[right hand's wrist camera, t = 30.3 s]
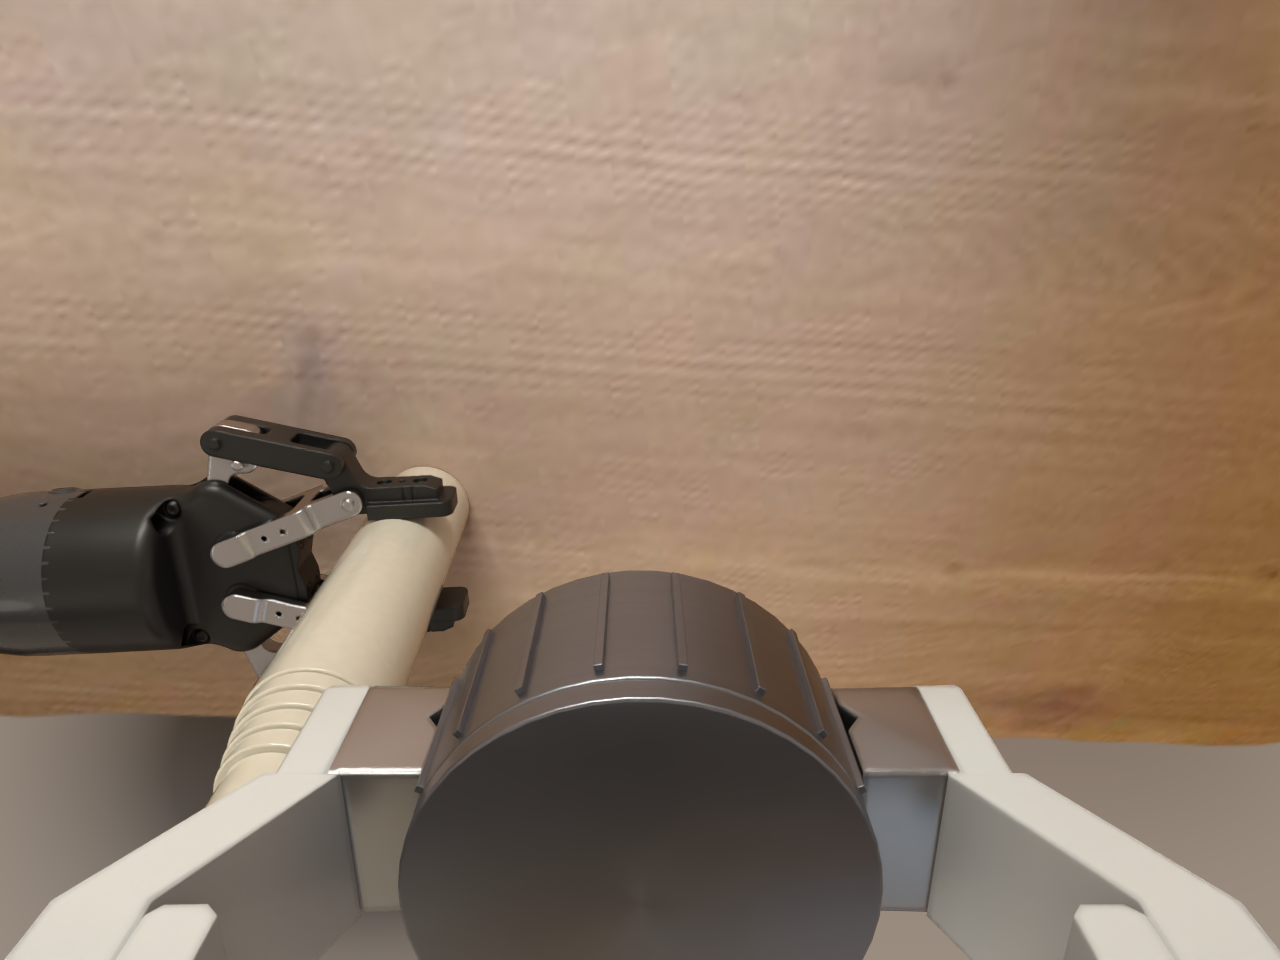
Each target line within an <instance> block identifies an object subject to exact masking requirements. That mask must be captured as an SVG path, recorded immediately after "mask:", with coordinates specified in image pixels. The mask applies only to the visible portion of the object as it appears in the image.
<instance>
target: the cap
mask: <svg viewBox="0 0 1280 960" xmlns="http://www.w3.org/2000/svg"><path fill="white" fill-rule="evenodd" d="M414 792H416V793H419V794H420V795H419V798H418V801H417V804H416V807H415V810H414V813H413V817H412V819H411V822H410V825H409V828H408V831H407V834H406V836H405V840H404V844H403V849H402V853H401V857H400V862H399V877H398V892H399V901H400V910H401V915H402V918H403V922H404V926H405V929H406V933H407V936H408V939H409V941H410V943H411V945H412V947H413V949H414V952H415V954H416V956H417V958H418V960H863V958H864V956H865V954H866V952H867V950H868V948H869V946H870V944H871V942H872V939H873V936H874V933H875V929H876V926H877V923H878V920H879V916H880V910H881V902H882V895H883V871H882V862H881V857H880V852H879V847H878V842H877V839H876V836H875V833H874V830H873V827H872V825H871V822H870V819H869V816H868V813H867V810H866V807H865V804H864V801H863V798H862V795H861V794H862V793H865V792H867V790H866V787H865V784H864V782H863V779H862V776H861V773H860V770H859V767H858V765H857V762H856V759H855V756H854V753H853V750H852V748H851V745H850V742H849V739H848V736H847V734H846V731H845V728H844V725H843V722H842V719H841V717H840V714H839V711H838V708H837V705H836V702H835V700H834V697H833V694H832V691H831V688H830V685H829V683H828V680H827V678H826V677H825V678H823V679H821V678H820V675H819V672H818V670H817V668H816V667H815V665H814V663H813V662H812V660H811V658H810V656H809V655H808V653H807V651H806V650H805V649H804V647H803V646H802V645H801V644H800V642H799V640H798V637H797V634H796V632H795V631H794V630H793V629H790V630H788V629H787V628H786V627H785V626H784V625H783V624H782V623H781V622H780V621H779V620H778V619H777V618H776V617H775V616H773V615H772V614H770V613H769V612H768V611H766V610H765V609H763V608H762V607H761V606H759V605H758V604H757V603H755V602H753V601H751V600H750V599H748V598H746V597H745V595H744V594H742V593H740V592H738V593H737V592H735V591H733V590H731V589H728V588H725V587H723V586H720V585H718V584H715V583H712V582H710V581H707V580H703V579H699V578H695V577H691V576H687V575H683V574H679V573H673V572H672V573H669V572H661V571H621V572H612V573H609V572H608V573H602V574H599V575H594V576H590V577H586V578H581V579H577V580H574V581H572V582H569V583H566V584H563V585H561V586H558V587H555V588H552V589H550V590H549V591H547V592H545V593H543V592H541V593H539V594H537V595H536V597H535V598H533V599H531V600H529V601H528V602H526V603H525V604H523V605H522V606H520V607H519V608H517V609H516V610H515V611H513V612H512V613H510V614H509V615H508V616H507V617H505V618H504V619H503V620H502V621H501V622H500V623H499V624H498V625H497V626H496V627H494V628H493V629H492V630H491V629H488V630H487V631H486V632H485V634H484V637H483V640H482V642H481V643H480V645H479V646H478V647H477V648H476V650H475V651H474V653H473V655H472V656H471V658H470V660H469V661H468V663H467V664H466V666H465V668H464V670H463V673H462V675H461V677H460V679H458V678H454V680H453V682H452V685H451V688H450V691H449V694H448V696H447V699H446V702H445V705H444V708H443V711H442V714H441V716H440V719H439V722H438V725H437V728H436V731H435V733H434V736H433V739H432V742H431V745H430V748H429V751H428V753H427V756H426V759H425V762H424V765H423V768H422V771H421V773H420V776H419V779H418V782H417V785H416V788H415V790H414Z"/></svg>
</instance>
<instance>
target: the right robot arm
mask: <svg viewBox="0 0 1280 960" xmlns="http://www.w3.org/2000/svg"><path fill="white" fill-rule="evenodd" d="M450 688H451V687H418V686H374V687H373V686H370V685H343V686H331V687H329V688H327V689H326V690H325V691H324V692H323V693H322V695H321V697H320V698H319V700H318V702H317V704H316V705H315V707H314V709H313V710H312V712H311V714H310V716H309V717H308V719H307V721H306V722H305V724H304V726H303V728H302V729H301V731H300V733H299V734H298V736H297V738H296V739H295V741H294V743H293V745H292V746H291V748H290V750H289V751H288V753H287V755H286V757H285V758H284V760H283V762H282V763H281V765H280V767H279V769H278V770H277V772H276V773H263V774H261V775H259V776H258V777H256V778H254V779H253V780H251V781H249V782H248V783H246V784H244V785H243V786H241V787H239V788H238V789H236V790H234V791H233V792H231V793H229V794H228V795H226V796H224V797H223V798H221V799H219V800H218V801H216V802H214V803H213V804H211V805H209V806H208V807H206V808H204V809H203V810H201V811H199V812H198V813H196V814H194V815H193V816H191V817H189V818H188V819H186V820H184V821H183V822H181V823H179V824H178V825H176V826H174V827H173V828H171V829H169V830H168V831H166V832H164V833H163V834H161V835H159V836H158V837H156V838H154V839H153V840H151V841H149V842H148V843H146V844H144V845H143V846H141V847H139V848H138V849H136V850H134V851H133V852H131V853H129V854H128V855H126V856H124V857H123V858H121V859H119V860H118V861H116V862H114V863H113V864H111V865H109V866H108V867H106V868H104V869H103V870H101V871H99V872H98V873H96V874H94V875H93V876H91V877H89V878H88V879H86V880H84V881H83V882H81V883H79V884H78V885H76V886H74V887H73V888H71V889H69V890H68V891H66V892H64V893H63V894H61V895H59V896H58V897H56V898H54V899H53V900H51V901H50V902H49V904H48V905H47V906H46V908H45V909H44V910H43V911H42V913H41V914H40V915H39V916H38V918H37V919H36V920H35V922H34V923H33V924H32V925H31V927H30V928H29V929H28V930H27V932H26V933H25V934H24V936H23V937H22V938H21V939H20V941H19V942H18V943H17V945H16V946H15V947H14V948H13V950H12V951H11V952H10V953H9V955H8V956H7V957H6V959H5V960H318V959H319V958H320V957H321V956H322V955H323V954H324V953H325V952H326V951H327V950H328V949H329V948H330V947H331V946H332V945H333V944H334V943H335V942H336V941H337V940H338V939H339V938H340V937H341V936H342V935H343V934H344V933H345V932H346V931H347V930H348V929H349V928H350V927H351V926H352V925H353V924H354V923H355V922H356V921H357V920H358V919H359V918H360V917H361V914H360V912H368V911H401V910H400V901H399V892H398V877H399V862H400V857H401V853H402V849H403V844H404V840H405V836H406V834H407V831H408V828H409V825H410V822H411V819H412V817H413V813H414V810H415V807H416V804H417V801H418V798H419V795H420V794H419V793H416V792H414V790H415V788H416V785H417V782H418V779H419V776H420V773H421V771H422V768H423V765H424V762H425V759H426V756H427V753H428V751H429V748H430V745H431V742H432V739H433V736H434V733H435V731H436V728H437V725H438V722H439V719H440V716H441V714H442V711H443V708H444V705H445V702H446V699H447V696H448V694H449V691H450ZM831 691H832V694H833V697H834V700H835V702H836V705H837V708H838V711H839V714H840V717H841V719H842V722H843V725H844V728H845V731H846V734H847V736H848V739H849V742H850V745H851V748H852V750H853V753H854V756H855V759H856V762H857V765H858V767H859V770H860V773H861V776H862V779H863V782H864V784H865V787H866V790H867V792H865V793H862V794H861V795H862V798H863V801H864V804H865V807H866V810H867V813H868V816H869V819H870V822H871V825H872V827H873V830H874V833H875V836H876V839H877V842H878V847H879V852H880V857H881V862H882V871H883V895H882V902H881V910H883V911H919V912H927V916H928V917H929V918H930V919H931V920H932V921H933V922H934V923H935V924H936V925H937V926H938V927H939V928H940V929H941V930H942V931H943V932H944V933H945V934H946V935H947V936H948V937H949V938H950V940H951V941H952V942H953V943H954V944H955V945H956V946H957V947H958V948H959V949H960V950H961V951H962V952H963V953H964V954H965V955H966V956H967V957H968V958H969V959H970V960H1280V951H1279V949H1278V948H1277V947H1276V946H1275V944H1274V943H1273V942H1272V940H1271V939H1270V938H1269V937H1268V935H1267V934H1266V933H1265V932H1264V930H1263V929H1262V928H1261V927H1260V925H1259V924H1258V923H1257V922H1256V920H1255V919H1254V918H1253V916H1252V915H1251V914H1250V913H1249V911H1248V910H1247V909H1246V908H1245V906H1244V905H1243V904H1242V903H1241V902H1240V901H1239V900H1237V899H1235V898H1234V897H1232V896H1230V895H1229V894H1227V893H1225V892H1223V891H1222V890H1220V889H1218V888H1217V887H1215V886H1213V885H1212V884H1210V883H1208V882H1207V881H1205V880H1203V879H1202V878H1200V877H1198V876H1197V875H1195V874H1193V873H1192V872H1190V871H1188V870H1187V869H1185V868H1183V867H1182V866H1180V865H1178V864H1177V863H1175V862H1173V861H1172V860H1170V859H1168V858H1167V857H1165V856H1163V855H1161V854H1160V853H1158V852H1156V851H1155V850H1153V849H1151V848H1150V847H1148V846H1146V845H1145V844H1143V843H1141V842H1140V841H1138V840H1136V839H1135V838H1133V837H1131V836H1130V835H1128V834H1126V833H1125V832H1123V831H1121V830H1120V829H1118V828H1116V827H1115V826H1113V825H1111V824H1110V823H1108V822H1106V821H1105V820H1103V819H1101V818H1100V817H1098V816H1096V815H1094V814H1093V813H1091V812H1089V811H1088V810H1086V809H1084V808H1083V807H1081V806H1079V805H1078V804H1076V803H1074V802H1073V801H1071V800H1069V799H1068V798H1066V797H1064V796H1063V795H1061V794H1059V793H1058V792H1056V791H1054V790H1053V789H1051V788H1049V787H1048V786H1046V785H1044V784H1043V783H1041V782H1039V781H1037V780H1036V779H1034V778H1032V777H1031V776H1029V775H1027V774H1026V773H1012V772H1011V770H1010V768H1009V767H1008V765H1007V763H1006V762H1005V760H1004V758H1003V757H1002V755H1001V753H1000V752H999V750H998V748H997V747H996V745H995V743H994V742H993V740H992V739H991V737H990V735H989V734H988V732H987V730H986V729H985V727H984V725H983V724H982V722H981V720H980V719H979V717H978V715H977V714H976V712H975V710H974V709H973V707H972V706H971V704H970V702H969V701H968V699H967V697H966V696H965V694H964V692H963V691H962V689H961V688H959V687H957V686H956V685H935V686H913V687H884V688H831Z"/></svg>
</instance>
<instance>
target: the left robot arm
mask: <svg viewBox="0 0 1280 960" xmlns="http://www.w3.org/2000/svg"><path fill="white" fill-rule="evenodd" d="M200 445H201V448H202V449H203V451H204V452H205V453H206V454H208V455H209V461H208V473H207V477H206V478H205V479H203V480H202V481H200V482H198V483H195V484H192V485H165V486H145V487H124V488H102V489H78V488H59V489H53V490H52V491H41V492H29V493H23V494H17V495H12V496H7V497H1V498H0V654H7V655H17V656H51V655H71V654H91V653H110V652H129V651H149V650H168V649H181V648H187V647H192V646H197V645H202V644H217V645H221V646H224V647H227V648H229V649H231V650H235V651H244V652H245V654H246V656H247V658H248V659H249V661H250V663H251V665H252V667H253V669H254V670H255V672H256V674H257V676H258V678H260V677H261V675H262V674H263V672H264V671H265V669H266V668H267V666H268V665H269V663H270V662H271V660H272V659H273V657H274V656H275V654H276V653H277V651H278V650H279V648H280V647H281V645H282V644H283V643H277V642H275V641H273V640H271V639H270V637H271V636H272V635H274V634H275V633H276V632H278V631H279V630H280V629H281V628H283V627H285V628H290V629H293V627H294V626H295V624H296V623H297V621H298V619H299V618H300V616H301V615H302V613H303V612H304V610H305V609H306V607H307V606H308V604H309V603H310V601H311V600H312V598H313V597H314V595H315V594H316V592H317V591H318V589H319V588H320V586H321V585H322V583H323V582H324V580H325V579H326V577H327V576H328V575H324V574H320V571H319V566H318V564H317V562H316V560H315V558H314V555H313V553H312V543H313V534H314V533H315V532H317V531H318V530H320V529H322V528H325V527H327V526H330V525H333V524H335V523H338V522H341V521H343V520H346V519H349V518H351V517H354V516H356V515H358V514H367V518H368V521H369V520H386V519H410V518H430V517H445V516H449V515H451V514H453V512H454V510H455V508H456V506H457V503H458V498H457V490H456V487H454V486H443V481H442V478H439V477H436V476H432V475H420V476H400V477H373V476H370V475H369V474H367V473H366V472H365V471H364V470H363V469H362V467H361V465H360V464H359V462H358V460H357V458H356V452H357V450H356V446H355V444H354V443H353V442H352V441H351V440H349V439H347V438H343V437H338V436H334V435H329V434H324V433H319V432H314V431H309V430H305V429H300V428H295V427H290V426H285V425H281V424H276V423H271V422H266V421H261V420H257V419H252V418H247V417H242V416H237V415H233V416H230V417H228V418H226V419H225V420H223V421H221V422H219V423H218V424H216V425H215V426H213V427H212V428H210V429H209V430H208V431H207V432H205V433H204V434H203V435H202V436H201V439H200ZM258 466H261V467H266V468H271V469H276V470H281V471H286V472H291V473H296V474H300V475H305V476H310V477H315V478H320V479H324V480H325V481H326V483H327V485H328V486H324V487H323V486H319V487H316V488H313V489H311V490H308V491H305V492H303V493H300V494H297V495H295V496H292V497H289V498H287V499H284V500H279V499H277V498H275V497H274V496H272V495H270V494H268V493H266V492H265V491H263V490H261V489H259V488H257V487H256V486H254V485H252V484H250V483H248V482H247V481H245V480H243V479H241V478H239V477H237V476H236V475H237V473H250V472H252V471H253V470H255V469H256V468H257V467H258ZM468 605H469V598H468V590H467V588H465V587H445V588H442V591H441V594H440V596H439V599H438V602H437V605H436V607H435V610H434V613H433V615H432V618H431V621H430V623H429V626H428V629H427V632H430V631H432V632H434V631H444V630H447V629H449V628H451V627H453V626H454V623H455V621H458V620H461V619H462V618H464V617H465V615H466V612H467V608H468ZM258 680H259V679H258ZM258 680H257V681H258ZM256 683H257V682H256ZM256 683H255V684H256ZM254 686H255V685H254ZM254 686H253V687H254Z"/></svg>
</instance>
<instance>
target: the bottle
mask: <svg viewBox="0 0 1280 960" xmlns="http://www.w3.org/2000/svg"><path fill="white" fill-rule="evenodd" d="M420 475H432V476H436V477H439V478H442V481H443V486H454V487H456V490H457V498H458V503H457V506H456V508H455V510H454V512H453V514H451V515H449V516H445V517H430V518H410V519H386V520H369V521H368V518H367V517H366V519H365V520H364V522H363V523H362V525H361V526H360V528H359V529H358V531H357V532H356V534H355V535H354V537H353V538H352V540H351V541H350V543H349V544H348V546H347V547H346V549H345V550H344V552H343V553H342V555H341V556H340V558H339V559H338V561H337V562H336V564H335V565H334V567H333V568H332V570H331V571H330V573H329V574H328V576H327V577H326V579H325V580H324V582H323V583H322V585H321V586H320V588H319V589H318V591H317V592H316V594H315V595H314V597H313V598H312V600H311V601H310V603H309V604H308V606H307V607H306V609H305V610H304V612H303V613H302V615H301V616H300V618H299V619H298V621H297V623H296V624H295V626H294V627H293V629H292V630H291V632H290V633H289V635H288V636H287V638H286V639H285V641H284V642H283V644H282V645H281V647H280V648H279V650H278V651H277V653H276V654H275V656H274V657H273V659H272V660H271V662H270V663H269V665H268V666H267V668H266V669H265V671H264V672H263V674H262V675H261V677H260V678H259V680H258V681H257V683H256V684H255V686H254V687H253V689H252V690H251V692H250V693H249V695H248V696H247V698H246V700H245V702H244V704H243V707H242V709H241V711H240V712H239V714H238V716H237V718H236V720H235V723H234V727H233V731H232V733H231V735H230V737H229V740H228V744H227V749H226V750H225V752H224V755H223V757H222V760H221V764H220V769H219V770H218V772H217V774H216V776H215V781H214V786H213V795H212V796H211V798H210V799H209V801H208V803H207V804H206V806H205V808H206V807H208V806H209V805H211V804H213V803H214V802H216V801H218V800H219V799H221V798H223V797H224V796H226V795H228V794H229V793H231V792H233V791H234V790H236V789H238V788H239V787H241V786H243V785H244V784H246V783H248V782H249V781H251V780H253V779H254V778H256V777H258V776H259V775H261V774H263V773H276V772H277V770H278V769H279V767H280V765H281V763H282V762H283V760H284V758H285V757H286V755H287V753H288V751H289V750H290V748H291V746H292V745H293V743H294V741H295V739H296V738H297V736H298V734H299V733H300V731H301V729H302V728H303V726H304V724H305V722H306V721H307V719H308V717H309V716H310V714H311V712H312V710H313V709H314V707H315V705H316V704H317V702H318V700H319V698H320V697H321V695H322V693H323V692H324V691H325V690H326V689H327V688H329V687H331V686H343V685H370V686H373V687H374V686H407V683H408V680H409V677H410V675H411V672H412V669H413V667H414V664H415V661H416V659H417V656H418V653H419V650H420V648H421V645H422V642H423V640H424V637H425V634H426V632H427V629H428V626H429V623H430V621H431V618H432V615H433V613H434V610H435V607H436V605H437V602H438V599H439V596H440V594H441V591H442V588H443V586H444V583H445V580H446V578H447V575H448V572H449V569H450V567H451V564H452V561H453V559H454V556H455V553H456V550H457V548H458V545H459V542H460V540H461V537H462V534H463V532H464V529H465V526H466V523H467V521H468V517H469V502H468V498H467V495H466V493H465V491H464V489H463V487H462V486H461V485H460V483H459V482H458V481H457V480H456V479H455V478H453V477H452V476H451V475H449V474H448V473H446V472H444V471H442V470H439V469H436V468H432V467H415V468H410V469H407V470H405V471H403V472H401V473H399V474H398V475H396V476H395V477H400V476H420Z"/></svg>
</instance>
